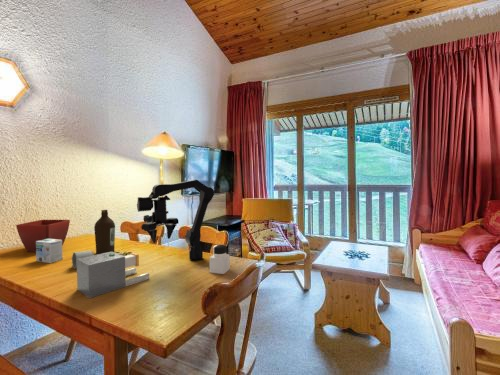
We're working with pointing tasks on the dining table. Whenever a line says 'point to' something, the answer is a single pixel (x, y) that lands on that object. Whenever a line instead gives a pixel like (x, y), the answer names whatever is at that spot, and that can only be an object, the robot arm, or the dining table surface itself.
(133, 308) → the dining table surface
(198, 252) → the robot arm
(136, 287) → the dining table surface
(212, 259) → the medicine bottle
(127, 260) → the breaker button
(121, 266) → the box
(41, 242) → the light bulb box
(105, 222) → the olive oil
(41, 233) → the plant pot
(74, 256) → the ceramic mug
